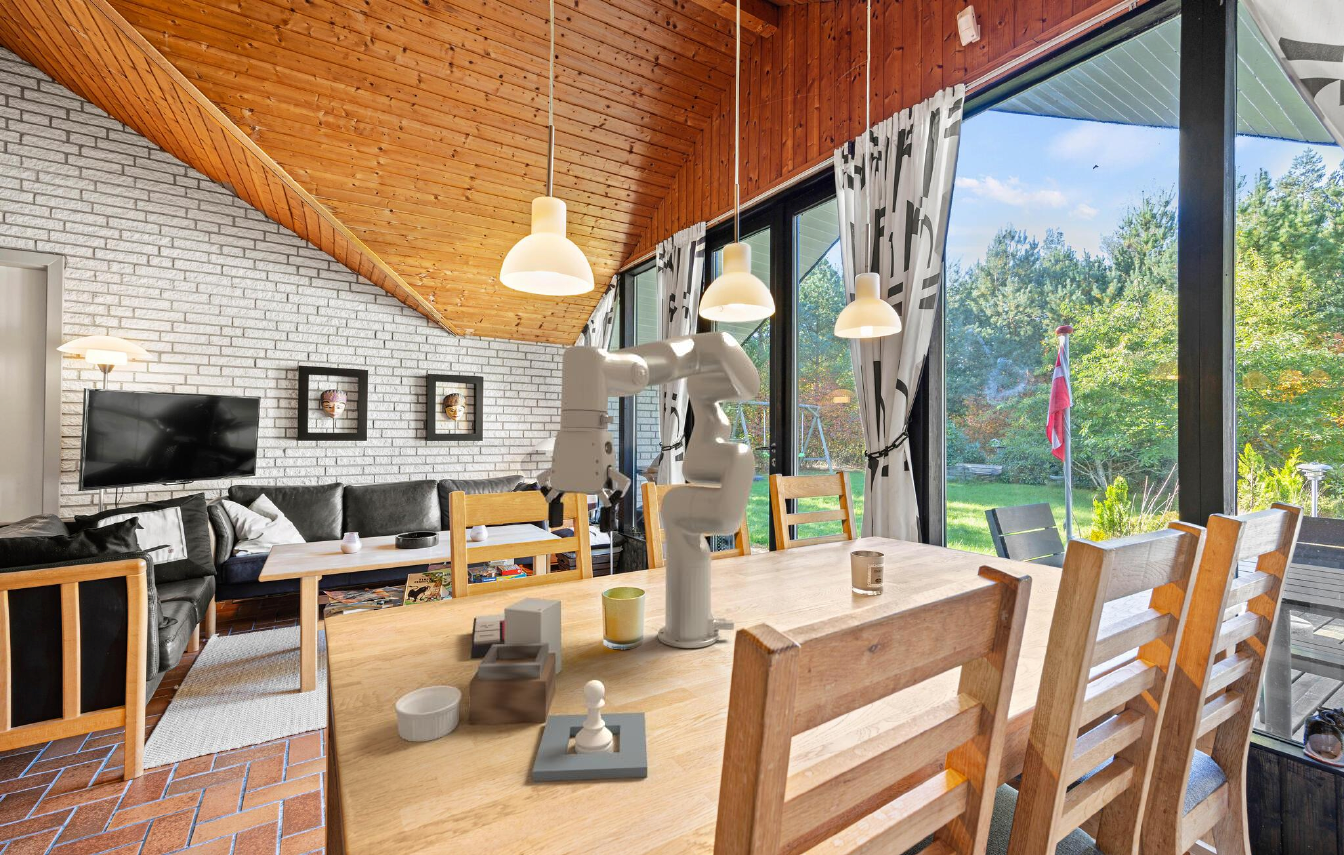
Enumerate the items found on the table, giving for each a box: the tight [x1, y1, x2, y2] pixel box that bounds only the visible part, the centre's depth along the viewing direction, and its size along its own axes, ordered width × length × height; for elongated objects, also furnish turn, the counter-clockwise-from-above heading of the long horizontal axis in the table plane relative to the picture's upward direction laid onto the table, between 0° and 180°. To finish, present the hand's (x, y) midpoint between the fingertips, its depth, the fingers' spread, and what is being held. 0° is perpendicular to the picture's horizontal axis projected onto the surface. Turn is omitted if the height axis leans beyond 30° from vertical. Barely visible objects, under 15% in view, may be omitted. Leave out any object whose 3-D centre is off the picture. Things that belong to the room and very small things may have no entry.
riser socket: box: [468, 643, 556, 726], centre depth 89 cm, size 11×11×8 cm
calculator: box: [470, 613, 505, 660], centre depth 116 cm, size 11×4×15 cm
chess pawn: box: [574, 679, 613, 754], centre depth 77 cm, size 5×5×9 cm
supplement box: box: [503, 597, 562, 676], centre depth 100 cm, size 7×7×13 cm
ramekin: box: [394, 685, 463, 742], centre depth 82 cm, size 9×9×4 cm
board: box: [531, 711, 648, 782], centre depth 77 cm, size 14×14×1 cm
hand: (580, 529), depth 92 cm, fingers open, 9 cm apart
